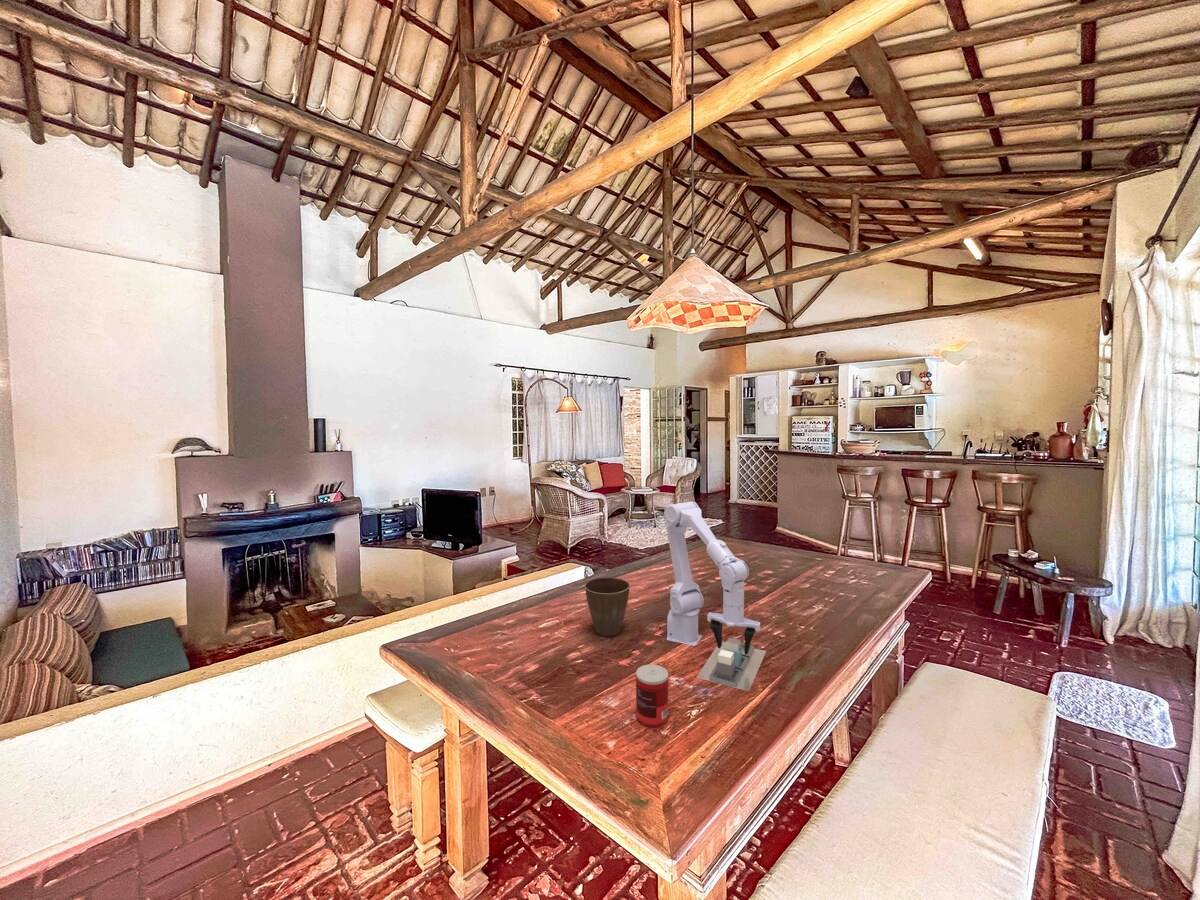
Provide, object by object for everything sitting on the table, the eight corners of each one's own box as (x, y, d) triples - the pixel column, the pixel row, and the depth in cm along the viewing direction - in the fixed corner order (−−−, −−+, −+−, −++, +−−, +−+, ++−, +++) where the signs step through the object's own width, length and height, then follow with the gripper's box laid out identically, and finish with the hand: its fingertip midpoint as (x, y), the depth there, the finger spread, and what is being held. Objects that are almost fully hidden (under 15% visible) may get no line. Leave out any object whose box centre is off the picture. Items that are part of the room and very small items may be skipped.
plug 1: (724, 664, 136) (724, 642, 136) (728, 658, 140) (728, 636, 139) (738, 668, 134) (738, 645, 134) (741, 661, 138) (742, 639, 137)
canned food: (665, 706, 118) (665, 663, 117) (671, 727, 110) (671, 681, 109) (634, 707, 118) (634, 664, 117) (638, 728, 110) (637, 682, 109)
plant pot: (626, 644, 150) (626, 594, 149) (580, 640, 153) (580, 591, 152) (632, 624, 165) (632, 578, 164) (590, 620, 168) (590, 576, 167)
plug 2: (716, 678, 129) (716, 655, 129) (720, 671, 133) (720, 648, 132) (731, 682, 127) (731, 658, 127) (735, 675, 131) (735, 652, 130)
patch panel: (696, 678, 130) (696, 673, 130) (720, 642, 151) (720, 637, 151) (748, 692, 123) (748, 687, 123) (766, 652, 144) (766, 647, 144)
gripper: (704, 603, 136) (704, 649, 137) (756, 613, 129) (756, 662, 130) (711, 595, 142) (711, 639, 143) (762, 604, 135) (761, 650, 136)
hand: (732, 649), depth 137 cm, fingers open, 7 cm apart
